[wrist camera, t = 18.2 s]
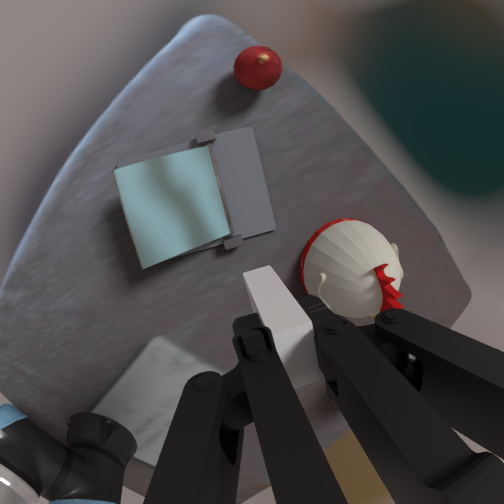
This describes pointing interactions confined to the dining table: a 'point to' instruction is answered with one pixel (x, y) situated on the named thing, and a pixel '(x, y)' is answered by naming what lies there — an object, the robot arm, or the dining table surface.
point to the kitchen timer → (352, 269)
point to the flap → (173, 203)
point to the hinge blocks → (232, 240)
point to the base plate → (232, 181)
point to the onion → (258, 67)
